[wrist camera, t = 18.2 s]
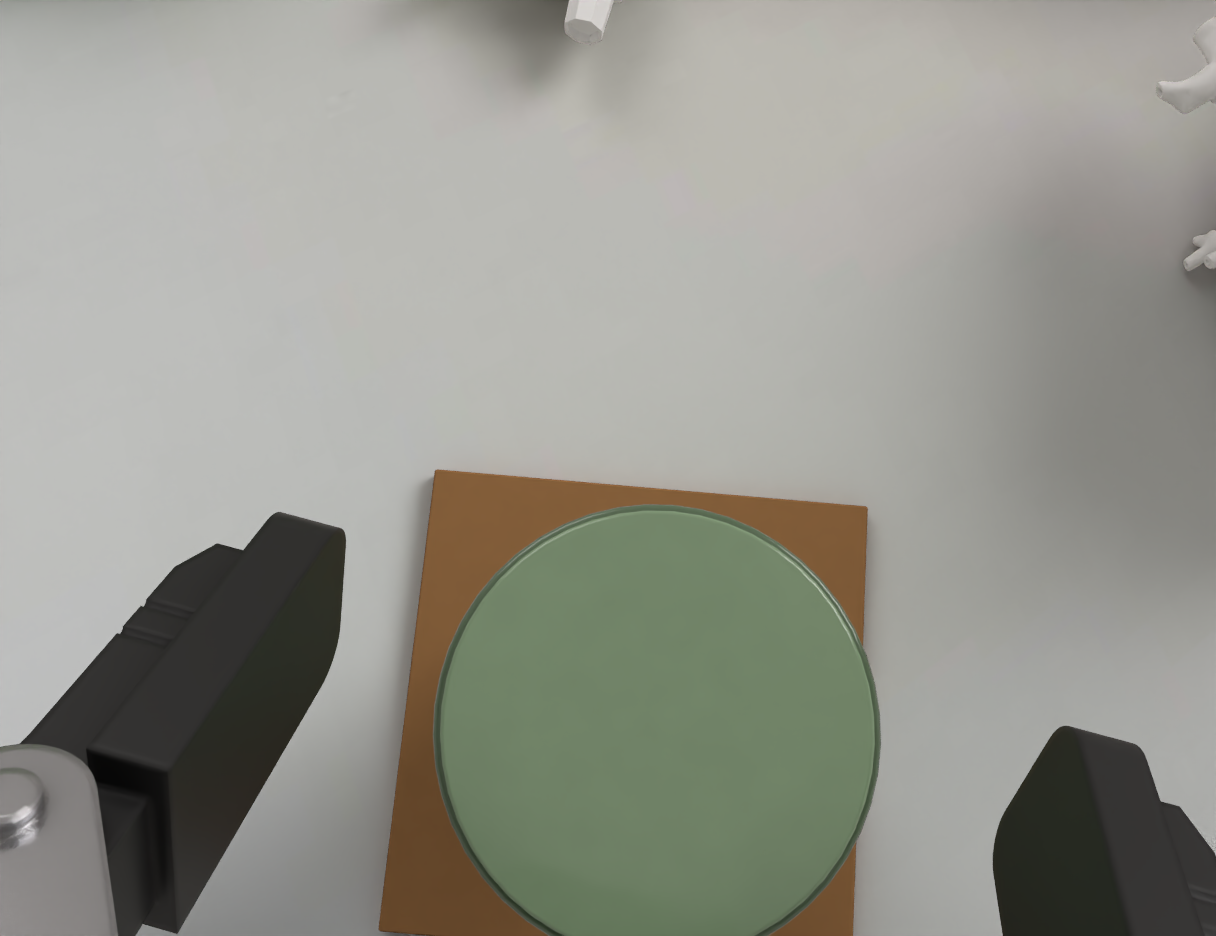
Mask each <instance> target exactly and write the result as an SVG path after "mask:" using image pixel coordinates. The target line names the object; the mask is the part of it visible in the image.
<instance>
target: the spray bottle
mask: <svg viewBox="0 0 1216 936" xmlns="http://www.w3.org/2000/svg"><path fill="white" fill-rule="evenodd" d="M621 2H622V0H569V3H568V8H567V13H566V17H565V22H564V28H565V33H566V34H567V35H568V36H569V37H570V38H572V39H573V40H574V41H575V42H580V43H584V44H589V45H591V44H594V43H596V42H599V41H601V40H602V37H603V33H604V30H605V27H606V24H607V21H608V18H609V15H610V12H611V8H612V5H613V3H621Z"/></svg>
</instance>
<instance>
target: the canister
mask: <svg viewBox="0 0 1216 936" xmlns="http://www.w3.org/2000/svg"><path fill="white" fill-rule="evenodd" d="M433 745H434V758H435V768H436V773H437V778H438V782H439V787H440V792H441V796H442V799H443V802H444V805H445V808H446V811H447V814H448V817H449V820H450V823H451V825H452V827H453V829H454V831H455V833H456V835H457V837H458V839H459V841H460V843H461V845H462V847H463V849H464V851H465V853H466V854H467V856H468V857H469V859H470V860H471V862H472V863H473V865H474V866H475V868H476V869H477V871H478V872H479V874H480V875H481V877H482V878H483V879H484V880H485V881H486V883H487V884H488V885H489V886H490V887H491V888H492V889H493V890H494V892H495V893H496V894H497V895H498V896H499V897H500V898H501V900H502V901H503V902H505V903H506V904H507V905H508V906H509V907H510V908H512V909H513V910H514V911H515V912H516V913H517V914H519V915H520V916H521V917H522V918H523V919H524V920H525V921H527V922H528V923H530V924H531V925H533V926H535V927H536V928H538V929H539V930H541V931H542V932H544V933H545V934H547V935H548V936H769V935H770V934H772V933H773V932H775V931H777V930H778V929H780V928H782V927H783V926H785V925H786V924H787V923H789V922H790V921H791V920H792V919H794V918H795V917H796V916H797V915H798V914H800V913H801V912H802V911H803V910H805V909H806V908H807V907H808V906H809V905H810V904H811V903H812V902H813V901H814V900H815V899H816V898H817V897H818V896H819V895H820V893H821V892H822V891H823V890H824V889H825V888H826V887H827V886H828V885H829V884H830V882H831V881H832V879H833V878H834V877H835V875H836V874H837V872H838V871H839V870H840V868H841V867H842V865H843V864H844V863H845V861H846V860H847V858H848V856H849V854H850V852H851V850H852V848H853V846H854V845H855V843H856V841H857V839H858V837H859V835H860V833H861V831H862V828H863V825H864V823H865V820H866V817H867V814H868V812H869V809H870V806H871V803H872V799H873V794H874V790H875V786H876V781H877V777H878V769H879V759H880V748H881V733H880V712H879V705H878V699H877V693H876V687H875V682H874V679H873V676H872V672H871V669H870V665H869V662H868V658H867V655H866V653H865V651H864V648H863V646H862V644H861V642H860V639H859V637H858V635H857V632H856V630H855V628H854V626H853V625H852V623H851V621H850V620H849V618H848V616H847V615H846V613H845V611H844V609H843V608H842V606H841V604H840V603H839V602H838V600H837V599H836V598H835V596H834V595H833V594H832V593H831V591H830V590H829V589H828V587H827V586H826V585H825V584H824V582H823V581H822V580H821V579H820V578H819V577H818V576H817V575H816V574H815V573H814V572H813V571H812V570H811V569H810V568H809V567H808V566H807V565H806V564H805V563H804V562H803V561H802V560H801V559H800V558H798V557H797V556H796V555H794V554H793V553H792V552H791V551H789V550H788V549H787V548H785V547H784V546H783V545H782V544H780V543H779V542H777V541H776V540H774V539H772V538H771V537H769V536H767V535H765V534H764V533H762V532H760V531H759V530H757V529H755V528H753V527H751V526H749V525H746V524H744V523H742V522H739V521H737V520H735V519H732V518H730V517H727V516H724V515H720V514H717V513H713V512H710V511H706V510H703V509H698V508H691V507H685V506H678V505H659V504H643V505H633V506H624V507H616V508H612V509H608V510H604V511H600V512H596V513H592V514H588V515H586V516H583V517H581V518H578V519H575V520H573V521H570V522H568V523H565V524H563V525H561V526H559V527H557V528H555V529H554V530H552V531H550V532H548V533H546V534H544V535H542V536H541V537H539V538H537V539H536V540H535V541H533V542H532V543H531V544H529V545H528V546H526V547H525V548H524V549H522V550H521V551H519V552H518V553H517V554H515V555H514V556H513V557H512V558H511V559H510V560H509V561H508V562H507V563H506V564H505V565H504V566H503V567H502V568H500V569H499V570H498V571H497V572H496V573H495V574H494V575H493V577H492V578H491V579H490V580H489V582H488V583H487V584H486V585H485V586H484V588H483V589H482V590H481V591H480V592H479V594H478V595H477V596H476V598H475V599H474V601H473V602H472V604H471V606H470V607H469V609H468V610H467V612H466V614H465V615H464V617H463V618H462V620H461V622H460V624H459V626H458V628H457V630H456V633H455V635H454V637H453V639H452V641H451V643H450V646H449V648H448V651H447V654H446V657H445V661H444V664H443V667H442V670H441V673H440V677H439V682H438V688H437V693H436V699H435V704H434V721H433Z"/></svg>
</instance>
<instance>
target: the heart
mask: <svg viewBox="0 0 1216 936" xmlns="http://www.w3.org/2000/svg"><path fill="white" fill-rule="evenodd" d="M1193 40H1194V42H1195V44H1196V45H1197V46H1198V47H1199V49H1200V50H1201V52H1202V53H1203V55H1204V57H1205V59H1206V61H1207V63H1208V65H1207V66H1206V67H1204V68H1203V69H1202V70H1200V71H1199V72H1198V73H1196V74H1195V75H1193V76H1192V77H1190V78H1188V79H1186V80H1183V81H1180V82H1169V81H1160V82H1158V83H1157V84H1156V93H1157V96H1158V97H1159V98H1160V99H1162V100H1164V101H1166V102H1167V103H1169V104H1171V105H1172V106H1173V107H1175V108H1176V109H1177V110H1178V111H1179V112H1181V113H1183V114H1186V113H1189V112H1191V111H1193V110H1194V109H1196V108H1198V107H1199V106H1201V105H1203V104H1205V103H1206V102H1208V101H1211V102H1212V103H1215V104H1216V17H1212V18H1211V19H1209V20H1208V21H1206V22H1205V23H1203V24H1202V25H1201V26H1200V27H1199V28H1198V30H1197V31H1196V33H1195V35H1194V37H1193ZM1193 244H1194V245H1195V246H1197V247H1200V249H1198V250H1197V251H1195V252H1194V253H1192V254H1191V255H1190V256H1188V257H1187V258H1186V259H1185V260H1184V261H1183V265H1184V267H1185V269H1186V270H1187V271H1191V270H1193V269H1194V268H1196V267H1198V266H1199V265H1201V264H1203V263H1204V264H1205V266H1206V267H1207V268H1209V269H1214V268H1216V230H1211V231H1209V232H1208V233H1207V234H1206V235H1198V236H1196V237H1194V238H1193Z"/></svg>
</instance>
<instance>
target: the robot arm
mask: <svg viewBox="0 0 1216 936" xmlns="http://www.w3.org/2000/svg"><path fill="white" fill-rule="evenodd" d="M345 549H346V537H345V532H344V530H343V529H341V528H338V527H334V526H330V525H326V524H323V523H319V522H315V521H312V520H308V519H304V518H300V517H297V516H293V515H289V514H286V513H282V512H277V513H274V514H273V515H272V516H271V517H270V518H269V519H268V520H267V521H266V522H265V524H264V525H263V526H262V527H261V529H260V530H259V531H258V533H257V534H256V535H255V536H254V538H253V539H252V540H251V541H250V543H249V544H248V545H247V546H246V548H245V549H244V550H239V549H236V548H232V547H228V546H225V545H221V544H215V545H214V546H212V547H210V548H208V549H206V550H205V551H203V552H201V553H199V554H197V555H195V556H194V557H192V558H190V559H188V560H186V561H185V562H183V563H181V564H179V565H177V566H175V567H174V568H173V569H172V571H171V572H170V573H169V574H168V575H167V576H166V577H165V579H164V580H163V581H162V582H161V583H160V584H159V586H158V587H157V588H156V589H155V590H154V591H153V592H152V594H151V595H150V596H149V597H148V598H147V599H146V604H145V606H144V607H143V606H140V607H139V609H138V610H137V611H136V612H135V613H134V614H133V615H132V617H131V618H130V619H129V620H128V621H127V622H126V624H125V625H124V626H123V630H122V632H121V634H118V633H117V634H116V635H115V636H114V637H113V639H112V640H111V641H110V642H109V643H108V644H107V645H106V647H105V648H104V649H103V650H102V651H101V652H100V653H99V655H98V656H97V657H96V658H95V659H94V660H93V662H92V663H91V664H90V665H89V666H88V667H87V668H86V670H85V671H84V672H83V673H82V674H81V675H80V677H79V678H78V679H77V680H76V681H75V682H74V683H73V685H72V686H71V687H70V688H69V689H68V690H67V691H66V693H65V694H64V695H63V696H62V697H61V698H60V700H59V701H58V702H57V703H56V704H55V705H54V706H53V708H52V709H51V710H50V711H49V712H48V713H47V714H46V716H45V717H44V718H43V719H42V720H41V721H40V723H39V724H38V725H37V726H36V727H35V728H34V729H33V731H32V732H31V733H30V734H29V735H28V736H27V737H26V738H25V739H24V740H23V741H22V742H21V743H20V744H16V745H10V746H3V747H0V936H135V935H136V934H137V932H138V930H139V929H140V927H141V926H142V924H145V925H149V926H152V927H156V928H159V929H162V930H166V931H169V932H173V933H176V934H177V933H178V932H179V930H180V928H181V926H182V925H183V923H184V921H185V920H186V918H187V916H188V914H189V913H190V911H191V909H192V908H193V906H194V904H195V902H196V901H197V899H198V897H199V895H200V894H201V892H202V890H203V889H204V887H205V885H206V883H207V882H208V880H209V878H210V877H211V875H212V873H213V871H214V870H215V868H216V866H217V865H218V863H219V861H220V859H221V858H222V856H223V854H224V853H225V851H226V849H227V847H228V846H229V844H230V842H231V841H232V839H233V837H234V835H235V834H236V832H237V830H238V829H239V827H240V825H241V823H242V822H243V820H244V818H245V817H246V815H247V813H248V811H249V810H250V808H251V806H252V805H253V803H254V801H255V799H256V798H257V796H258V794H259V793H260V791H261V789H262V787H263V786H264V784H265V782H266V781H267V779H268V777H269V775H270V774H271V772H272V770H273V768H274V767H275V765H276V763H277V762H278V760H279V758H280V756H281V755H282V753H283V751H284V750H285V748H286V746H287V744H288V743H289V741H290V739H291V738H292V736H293V734H294V732H295V731H296V729H297V727H298V726H299V724H300V722H301V720H302V719H303V717H304V715H305V714H306V712H307V710H308V708H309V707H310V705H311V703H312V702H313V700H314V698H315V696H316V695H317V693H318V691H319V690H320V688H321V686H322V684H323V682H324V680H325V678H326V676H327V674H328V671H329V669H330V666H331V664H332V661H333V658H334V655H335V651H336V647H337V643H338V639H339V633H340V621H341V607H342V592H343V578H344V563H345ZM993 873H994V880H995V887H996V893H997V900H998V906H999V913H1000V919H1001V926H1002V933H1003V936H1216V856H1215V853H1214V852H1213V850H1212V849H1211V848H1210V846H1209V845H1208V844H1207V842H1206V841H1205V840H1204V838H1203V837H1202V836H1201V834H1200V833H1199V832H1198V830H1197V829H1196V828H1195V826H1194V825H1193V824H1192V822H1191V821H1190V820H1189V818H1188V817H1187V816H1186V814H1185V813H1184V812H1183V810H1182V809H1181V808H1180V807H1179V806H1175V805H1172V804H1168V803H1164V802H1161V801H1160V799H1159V796H1158V793H1157V790H1156V787H1155V784H1154V781H1153V778H1152V775H1151V772H1150V769H1149V766H1148V762H1147V759H1146V757H1145V755H1144V753H1143V751H1142V750H1141V748H1140V747H1138V746H1137V745H1135V744H1133V743H1129V742H1126V741H1122V740H1118V739H1114V738H1111V737H1107V736H1103V735H1100V734H1096V733H1092V732H1088V731H1085V730H1081V729H1077V728H1074V727H1070V726H1062V727H1060V728H1058V729H1057V730H1056V731H1055V732H1054V733H1053V734H1052V736H1051V737H1050V739H1049V740H1048V742H1047V744H1046V745H1045V747H1044V749H1043V750H1042V752H1041V753H1040V755H1039V757H1038V758H1037V760H1036V762H1035V763H1034V765H1033V766H1032V768H1031V770H1030V771H1029V773H1028V775H1027V776H1026V778H1025V780H1024V781H1023V783H1022V784H1021V786H1020V788H1019V789H1018V791H1017V793H1016V794H1015V796H1014V798H1013V799H1012V801H1011V802H1010V804H1009V806H1008V807H1007V809H1006V811H1005V812H1004V814H1003V816H1002V818H1001V821H1000V823H999V826H998V830H997V833H996V838H995V843H994V851H993Z"/></svg>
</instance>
